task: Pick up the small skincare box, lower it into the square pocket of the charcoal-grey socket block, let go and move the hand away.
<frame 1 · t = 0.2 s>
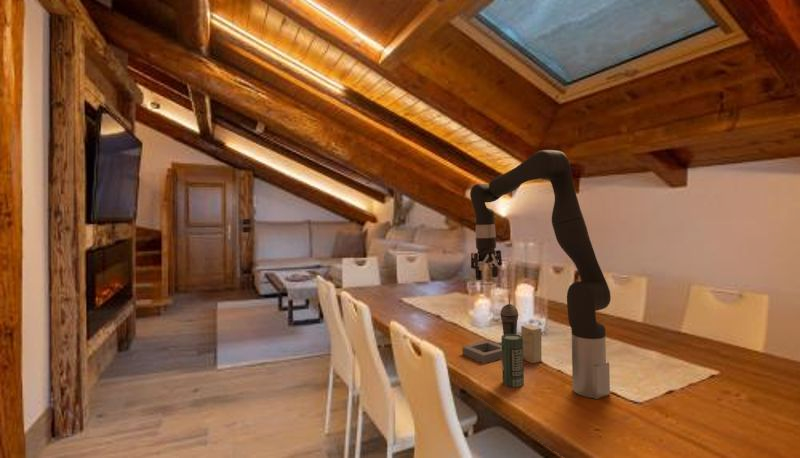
hand: (487, 278, 162), 28 cm above the table, tool pointing down, fingers open, 8 cm apart
skincare box: (531, 360, 153), on the table
can: (513, 384, 134), on the table
beverage cup: (510, 342, 173), on the table
socket block: (486, 355, 159), on the table
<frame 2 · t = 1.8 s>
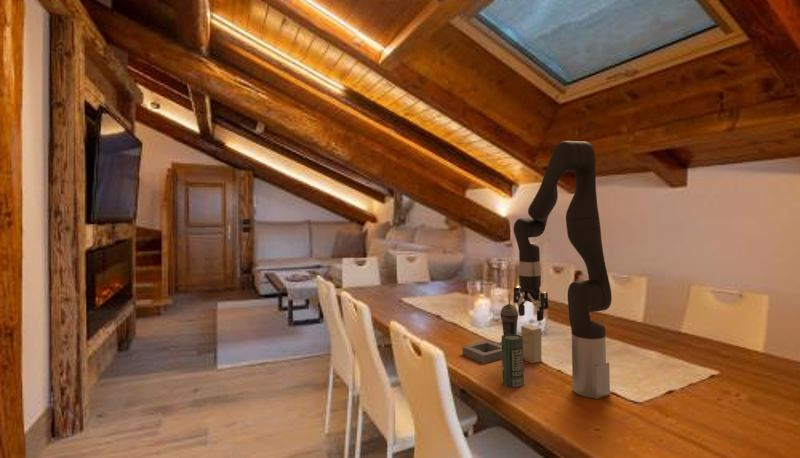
hand: (530, 318, 152), 15 cm above the table, tool pointing down, fingers open, 8 cm apart
nothing on the table moved.
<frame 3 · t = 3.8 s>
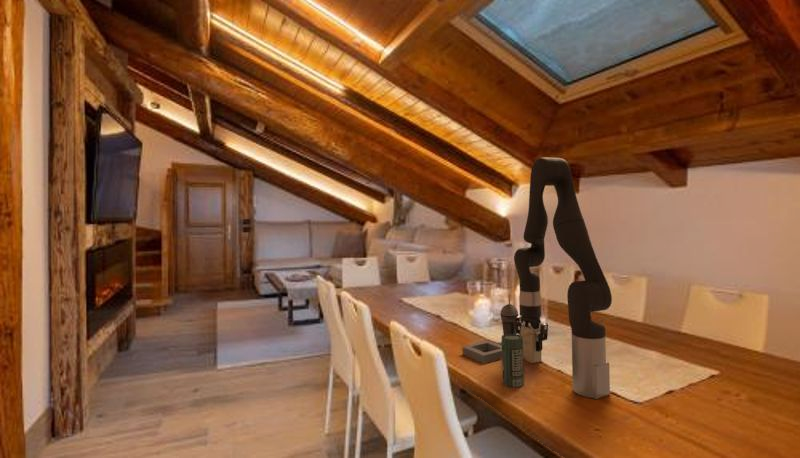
hand: (531, 348, 153), 4 cm above the table, tool pointing down, fingers closed on skincare box, 6 cm apart
skincare box: (531, 360, 153), on the table, touching gripper
everything else where it was.
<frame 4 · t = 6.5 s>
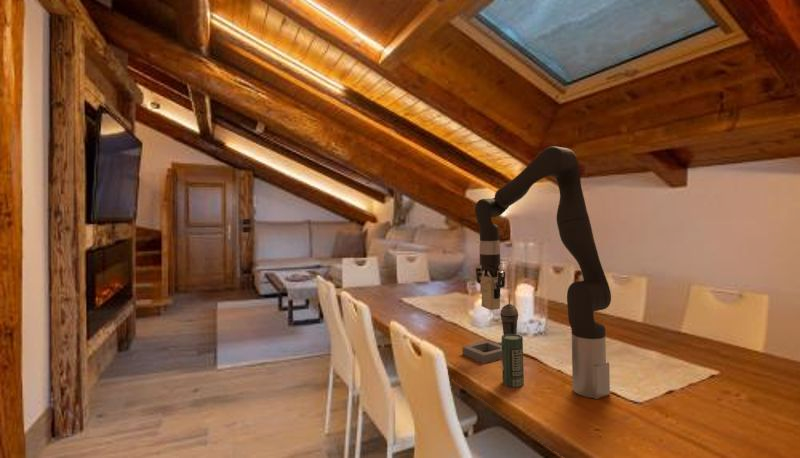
hand: (490, 296, 158), 22 cm above the table, tool pointing down, fingers closed on skincare box, 6 cm apart
skincare box: (491, 308, 158), point 18 cm above the table, touching gripper
everything else where it was.
when the fingers open (6 cm above the table, at t = 9.4 s): skincare box drops 1 cm, resting in socket block.
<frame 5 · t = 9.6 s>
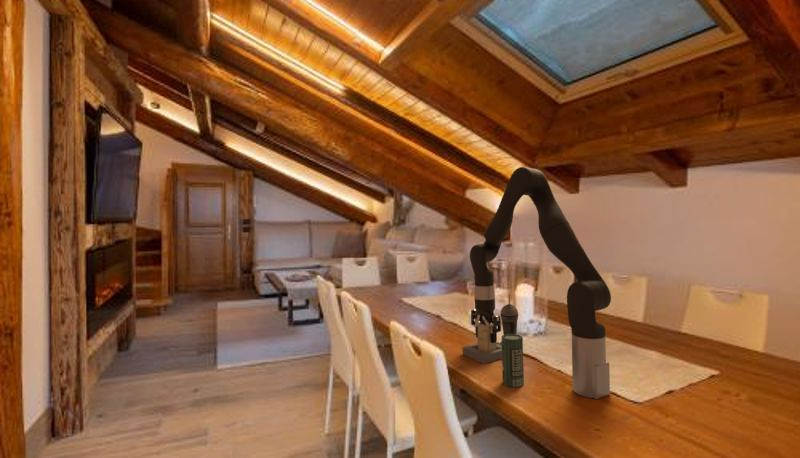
hand: (486, 339, 159), 6 cm above the table, tool pointing down, fingers open, 8 cm apart
skincare box: (487, 356, 159), resting in socket block
everything else where it was.
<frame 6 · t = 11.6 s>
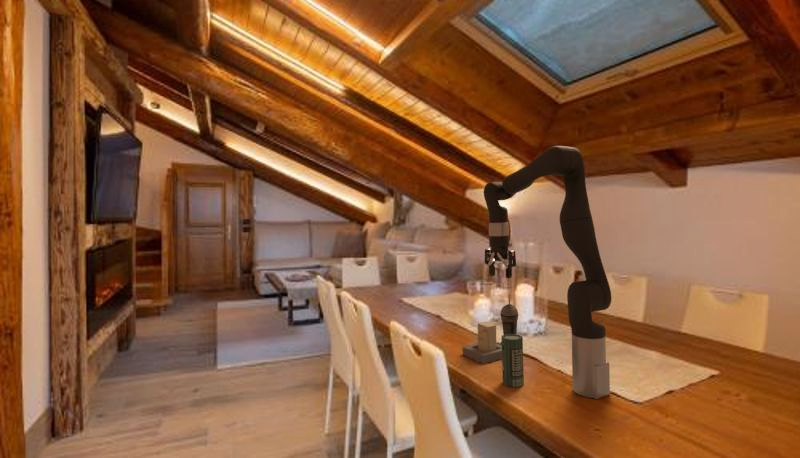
hand: (500, 276, 161), 29 cm above the table, tool pointing down, fingers open, 8 cm apart
nothing on the table moved.
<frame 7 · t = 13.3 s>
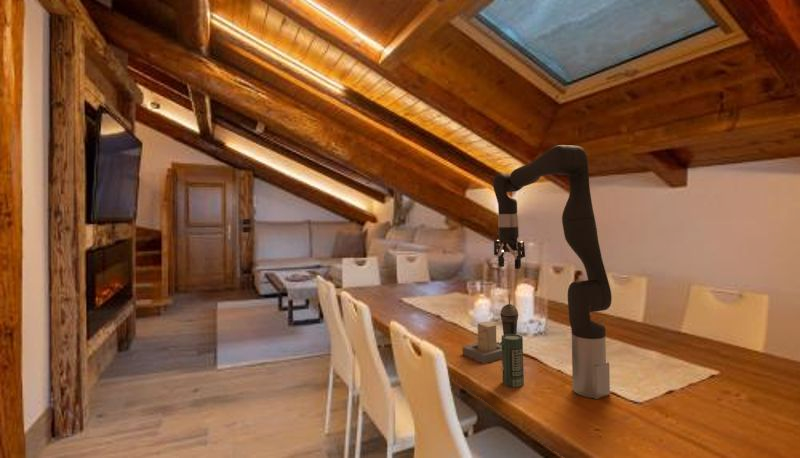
hand: (509, 267, 163), 32 cm above the table, tool pointing down, fingers open, 8 cm apart
nothing on the table moved.
at the end: skincare box 0.5 cm off-centre on the socket block, point 0.0 cm above the socket block's base; skincare box tilted 0°; the gripper is holding nothing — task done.
